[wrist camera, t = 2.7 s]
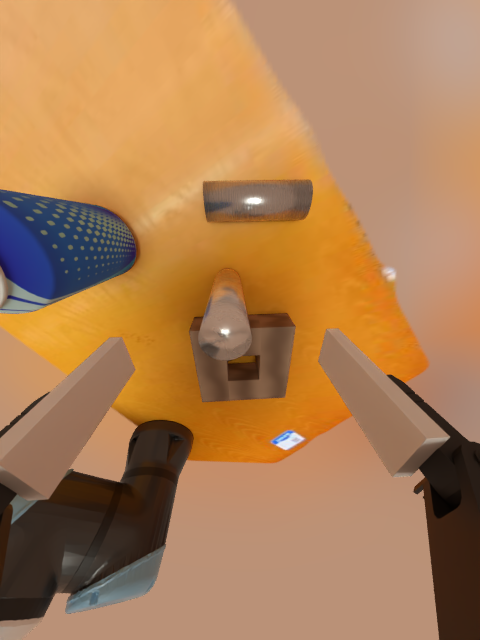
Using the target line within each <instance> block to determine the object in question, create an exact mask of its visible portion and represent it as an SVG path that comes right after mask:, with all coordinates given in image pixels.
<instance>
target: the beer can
mask: <svg viewBox="0 0 480 640" xmlns="http://www.w3.org/2000/svg"><path fill="white" fill-rule="evenodd" d="M135 259H136V244H135V241H134V238H133V236H132V234H131V232H130V230H129V228H128V227H127V226H126V224H125V223H124V222H123V221H122V220H121V219H120V218H119V217H118V216H117V215H115V214H114V213H112V212H111V211H109V210H107V209H105V208H103V207H100V206H97V205H91V204H85V203H79V202H73V201H67V200H61V199H55V198H49V197H43V196H37V195H31V194H25V193H19V192H13V191H7V190H1V189H0V313H8V314H20V313H29V312H33V311H36V310H39V309H41V308H44V307H46V306H48V305H51V304H53V303H55V302H58V301H60V300H62V299H65V298H67V297H69V296H72V295H74V294H76V293H79V292H81V291H83V290H86V289H88V288H90V287H93V286H95V285H97V284H100V283H102V282H104V281H107V280H109V279H111V278H114V277H116V276H118V275H121V274H123V273H125V272H127V271H128V270H129V269H130V268H131V267H132V266H133V264H134V262H135Z"/></svg>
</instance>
